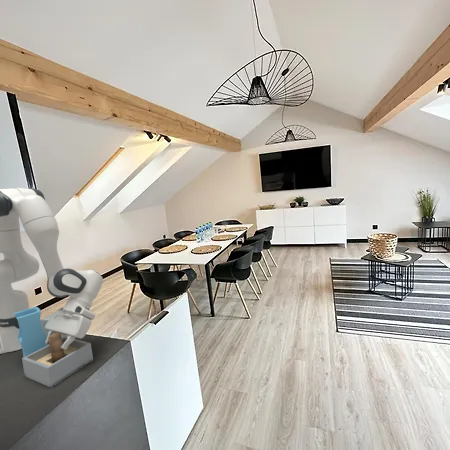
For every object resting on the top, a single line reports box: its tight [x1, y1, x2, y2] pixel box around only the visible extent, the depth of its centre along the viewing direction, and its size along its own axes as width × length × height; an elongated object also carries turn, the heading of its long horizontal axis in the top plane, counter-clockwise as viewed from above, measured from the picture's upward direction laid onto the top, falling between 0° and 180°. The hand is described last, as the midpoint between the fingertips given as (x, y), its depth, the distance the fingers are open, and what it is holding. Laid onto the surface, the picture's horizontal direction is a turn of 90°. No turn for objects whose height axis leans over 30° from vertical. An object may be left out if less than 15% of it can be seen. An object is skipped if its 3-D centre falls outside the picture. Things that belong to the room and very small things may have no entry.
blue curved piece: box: [14, 306, 46, 358], centre depth 109 cm, size 8×8×20 cm
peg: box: [48, 333, 65, 363], centre depth 102 cm, size 4×4×12 cm
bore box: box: [21, 336, 94, 389], centre depth 102 cm, size 16×16×7 cm
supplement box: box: [40, 312, 68, 346], centre depth 121 cm, size 7×7×13 cm
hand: (55, 346), depth 101 cm, fingers open, 8 cm apart
